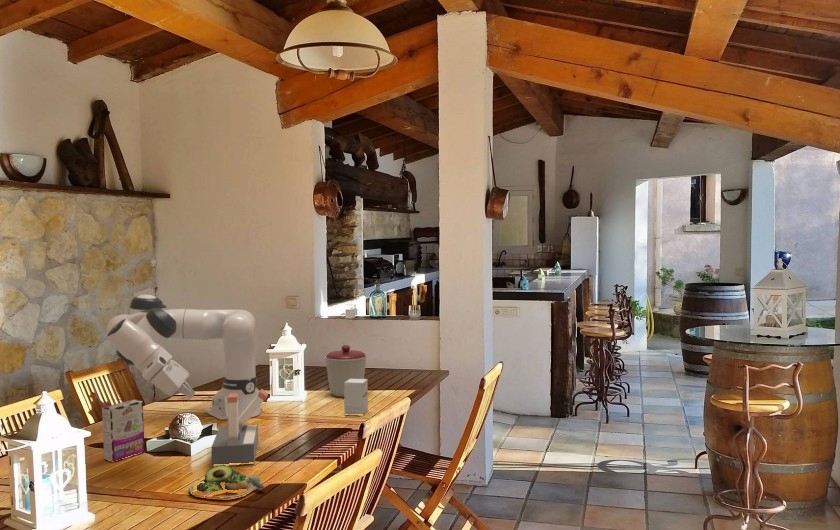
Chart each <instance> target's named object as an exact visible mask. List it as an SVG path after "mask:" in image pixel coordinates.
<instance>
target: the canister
mask: <svg viewBox="0 0 840 530" xmlns="http://www.w3.org/2000/svg"><path fill="white" fill-rule="evenodd" d="M323 358H324V359H325V363H326V373H327V380H328V388H329V392H330V393H331V395H332V396H334V397H339V398H344V383H345V382H346V381H347V380H349V379H365V370H366V364H367V363H366V359H367V358H368V354H366V353H365V352H363V351H359V350H352V349H351V346H350V345H348V344H344V345H342V346H341V350H335V351H331V352H329V353H327V354H326V355H324V357H323Z"/></svg>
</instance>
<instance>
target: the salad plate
mask: <svg viewBox="0 0 840 530" xmlns="http://www.w3.org/2000/svg"><path fill="white" fill-rule="evenodd" d="M202 481H204V482H205V483H200V484H199V485H197V490H199V491H202V492H203V493H211V492H215V491H218V490H223V488H222V486H221V485H220V483H221V482H225V484H224V485H225V489H227V490H239V489H247V491H245V492H243V493H241V494H237V495H236V494H234V495H226V496H225V495H224V496H222V497H224V498H225V497H226V498H231V497H239V496H242V495H244V494H247V493H248V492H250V491H251V490H255V489H257V490H262V489H265V488H266V486H265V485H264V484H262V483H263V482H262V479H261V477H259V476H257V475H256V476H255V475H247V474H244V473H241V472H240V471H238V470H235V469H233V468H232V466H226V465H220V466H216V467H211V468H210V469H208V470H207V471H206V472H205V474H204V479H203V480H201V481H198V482H196V483H194V484H192V485H191V486H190V487H189V488H188V491H189V490H190V491H191V492H192V493H195V492H193V487H194V486H195V485H196V484H198V483H199V482H202Z"/></svg>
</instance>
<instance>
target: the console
mask: <svg viewBox="0 0 840 530" xmlns="http://www.w3.org/2000/svg"><path fill="white" fill-rule="evenodd" d="M238 426H239V433H238V436H233V437H229V425H220V426H219V428H218V430H217V432H216V435H215V438H214V440H213V442H212V444H211V466H212V465H214V464H229V463H249V462H254V461H255V462H256V458H255V455H256V456H257V452H256V450H257V451H258V447H257V445H259V424H258V423H255V424H244V426H243V427H242V423H238Z"/></svg>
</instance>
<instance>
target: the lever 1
mask: <svg viewBox="0 0 840 530" xmlns="http://www.w3.org/2000/svg"><path fill="white" fill-rule="evenodd" d="M227 420H228V426H229V437H233V436H238V433H239V426H238V393H229V395H228V419H227Z"/></svg>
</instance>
